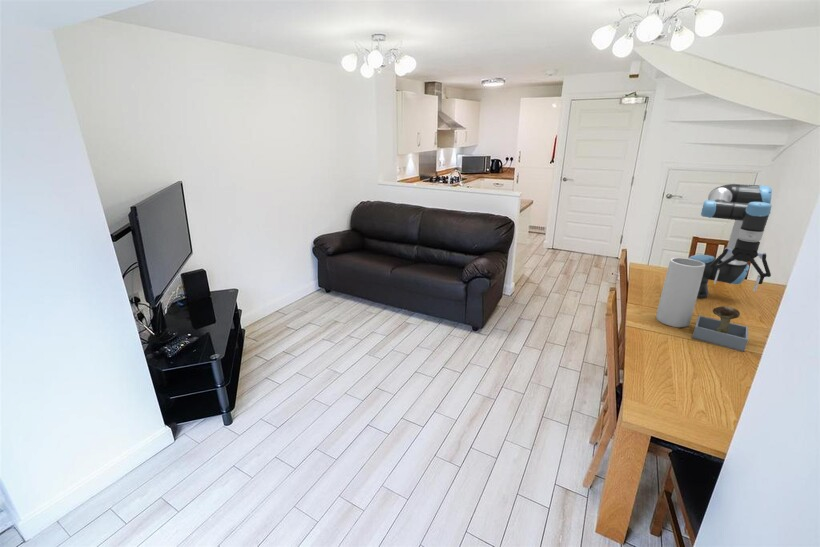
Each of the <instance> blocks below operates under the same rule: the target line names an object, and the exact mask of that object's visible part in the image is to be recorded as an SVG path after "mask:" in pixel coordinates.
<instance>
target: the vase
mask: <svg viewBox="0 0 820 547" xmlns="http://www.w3.org/2000/svg"><path fill="white" fill-rule="evenodd" d="M704 269H705V263H703V262H701V261H698V260H694V259H689V257H672V258H670V259H669V263H668V267H667V271H666V275H665V278H664V282H663V285H662V286H663V287H662V290H661V294H660V298H659V302H658V305H657V309H656V310H657V311H656V315H655V318H656V320H657V321H658V322H659V323H661V324H663V325H666V326H670V327H674V328H686V327H688V326H690V323H691V322H692V321H691V320H692V317H693V314H694V310H695V307H696V302H697V300H698V299H697V295H698V292H699V288H700V284H701V280H702V276H703V272H704Z"/></svg>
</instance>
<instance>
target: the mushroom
mask: <svg viewBox="0 0 820 547" xmlns="http://www.w3.org/2000/svg"><path fill="white" fill-rule="evenodd" d="M712 313H713V314H714V315H715V316H717V317H720V318H719V319H720V320H721V322H720V326H719V327H718V328H717V329H716V330H715V331H718V332H722V333H726V334H727V331H728V330H729V324H730V323H731V320H734V319H738V318H740V316H741V313H740V311H739V310H738V309H736V308H735V307H734V308H733V307H729V306H722V305H721V306H717V307H715V308H713V309H712Z"/></svg>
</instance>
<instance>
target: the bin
mask: <svg viewBox="0 0 820 547" xmlns="http://www.w3.org/2000/svg"><path fill="white" fill-rule="evenodd" d="M720 322H721V319H716V318H711V317H709V316H702V315H698V316H697V319H696V323H695V327H694V330H693V332H692V333H693V334H692V336H691V339H694V340H696V341H697V340H698V341H701V342H704V343H708V344H713V345H715V346H720V347H723V348H727V349H732V350H735V351H739V352H743V353H744V352H745V350H746V348H747V345H748V342H749V326H748V325H747V326H745V325H743V324H737V323H733V322H730V324H729V330H728V331H727V334H726V333H722V332H718V331H715V330H716V329H717V328H718V327H719V326H720Z"/></svg>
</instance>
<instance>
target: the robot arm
mask: <svg viewBox="0 0 820 547" xmlns="http://www.w3.org/2000/svg"><path fill="white" fill-rule="evenodd" d="M772 194H773V189H772V187H771V186H769V185H768V186H766V185H761V184H759V185H758V184H736V183H729V184H723V185H721V186H717V187H715V188H713V189H712V190H711V191H710V192H709V194H708V196H707V199H706V200H704V202H703V204H702V208H701V212H700V216H701V217H705V218H709V219H712V218H713V219H721V220H723V219H724V220H731V221H732V220H733V221H734V223H733V226H732V228H731V233H730V236H729V238H728V243H727V245H726V247H725V248H723V249H724V250H723V252H722V253H720V254H719V256H718V257H716V258H715V256H713V255H709V254H695V255H691V256H689V257H688V258H689V259H694V260H698V261H701V262H703V263H705V269H704V272H703V276H702V280H701V284H700V288H699V292H698V295H697V299H696V300H698V299H700V300H702V299H703V300H704V299H707V298H708V297H709V286H708V283H709V281H713V284H714V285H716V284H717V282H721V283H724V284H729V285H740V284H741V283H743V282H744V281H745V278H746V277H747V274H748V272H749V270H750V264H751V265H752V267H754V269H755V270H756V271H757V274H758V275H757V278H756V280H755V283H754V286H753V292H756V291H757V289H758V286H759V285H762V284H763V282H764V279H765V278H770V277H771V276H772V273H771V271H770V267H769V264H768V262H767V253H766V252H762V253H761V252H759V253H758V250H759V247H760V244H761V240H762V239H763V235H764V232H765V228H766V225H767V222H768V219H769V217H770V215H771V211H772V206H773V205H772V204H771V201H772ZM757 257H759V259H760V260H761V261H762V265H763V267H764V271H765V272H764V271H763V270H762V268H761V266H759V264H758V262H757V261H756V260H755V258H757ZM749 262H750V264H748V263H749Z"/></svg>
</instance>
